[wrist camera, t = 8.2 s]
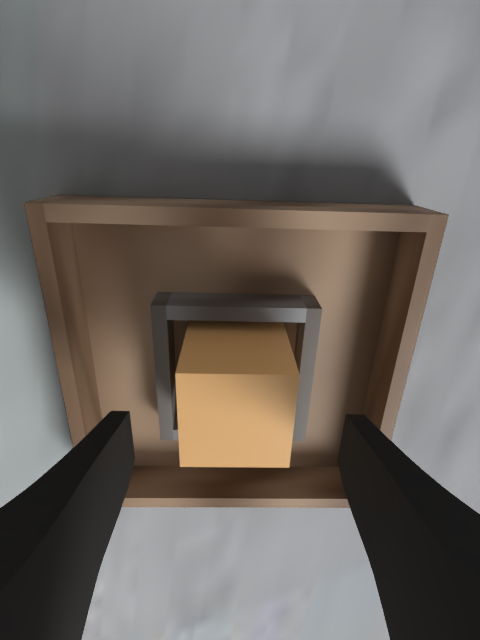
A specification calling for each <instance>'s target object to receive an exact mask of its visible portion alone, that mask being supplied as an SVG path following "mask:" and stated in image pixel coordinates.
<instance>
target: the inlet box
mask: <svg viewBox="0 0 480 640" xmlns="http://www.w3.org/2000/svg"><path fill="white" fill-rule="evenodd" d="M24 206H25V211H26V216H27V221H28V225H29V230H30V235H31V240H32V245H33V250H34V255H35V260H36V265H37V270H38V275H39V280H40V285H41V290H42V295H43V299H44V304H45V309H46V314H47V319H48V324H49V329H50V334H51V339H52V344H53V349H54V354H55V359H56V364H57V368H58V373H59V378H60V383H61V388H62V393H63V398H64V403H65V408H66V413H67V418H68V423H69V428H70V433H71V438H72V442H73V447H75V446H76V445H77V444H78V443H79V442H80V441H81V440H82V439H83V438H84V437H85V436H86V435H87V434H88V433H89V432H90V431H91V430H92V429H93V428H94V427H95V426H96V425H97V424H98V423H99V422H100V421H101V420H102V419H103V418H104V417H105V416H106V415H107V414H108V413H109V412H110V411H130V418H131V427H132V435H133V444H134V453H135V461H134V465H133V470H132V475H131V479H130V483H129V487H128V490H127V493H126V496H125V499H124V502H123V504H122V507H298V508H350V506H349V503H348V500H347V497H346V494H345V491H344V488H343V484H342V479H341V475H340V470H339V466H338V461H337V459H338V454H339V449H340V443H341V438H342V432H343V427H344V422H345V416H346V414H364V415H365V416H366V417H367V418H368V419H369V420H370V421H371V422H372V423H373V424H374V425H375V426H376V427H377V428H378V429H379V430H380V431H381V432H382V433H383V434H384V435H386V436H387V437H388V438H389V439H390V440H391V438H392V435H393V431H394V427H395V423H396V419H397V415H398V411H399V407H400V403H401V399H402V395H403V392H404V388H405V384H406V380H407V376H408V372H409V368H410V364H411V360H412V356H413V352H414V349H415V345H416V341H417V337H418V333H419V329H420V325H421V321H422V317H423V313H424V309H425V306H426V302H427V298H428V294H429V290H430V286H431V282H432V278H433V274H434V270H435V266H436V263H437V259H438V255H439V251H440V247H441V243H442V239H443V235H444V231H445V227H446V223H447V220H448V216H449V215H448V214H444V213H440V212H437V211H433V210H430V209H426V208H423V207H419V206H415V205H385V204H351V203H317V202H282V201H248V200H213V199H179V198H145V197H110V196H76V195H55V196H51V197H46V198H42V199H38V200H34V201H29V202H25V203H24ZM189 320H191V321H243V322H284V326H285V329H286V332H287V335H288V339H289V342H290V345H291V348H292V352H293V355H294V358H295V361H296V365H297V368H298V371H299V374H300V378H299V386H298V395H297V404H296V413H295V422H294V430H293V439H292V448H291V457H290V466H289V468H264V467H180V458H179V438H178V418H177V398H176V378H175V372H176V369H177V365H178V361H179V357H180V353H181V349H182V345H183V341H184V338H185V334H186V330H187V326H188V322H189Z"/></svg>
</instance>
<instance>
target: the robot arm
mask: <svg viewBox="0 0 480 640" xmlns="http://www.w3.org/2000/svg"><path fill="white" fill-rule="evenodd" d="M134 461H135V453H134V444H133V435H132V427H131V418H130V411H110V412H109V413H108V414H107V415H106V416H105V417H104V418H103V419H102V420H101V421H100V422H99V423H98V424H97V425H96V426H95V427H94V428H93V429H92V430H91V431H90V432H89V433H88V434H87V435H86V436H85V437H84V438H83V439H82V440H81V441H80V442H79V443H78V444H77V445H76V446H75V447H74V448H73V449H72V450H71V451H70V452H69V453H67V454H66V455H65V456H64V457H63V458H62V459H61V460H60V461H59V462H58V463H56V464H55V465H54V466H53V467H52V468H51V469H50V470H48V471H47V472H46V473H45V474H44V475H43V476H42V477H40V478H39V479H38V480H37V481H36V482H34V483H33V484H32V485H31V486H29V487H28V488H27V489H26V490H24V491H23V492H22V493H20V494H19V495H18V496H16V497H15V498H14V499H12V500H11V501H10V502H8V503H7V504H5V505H4V506H3V507H1V508H0V640H81V639H82V634H83V630H84V626H85V622H86V618H87V614H88V610H89V606H90V603H91V599H92V595H93V591H94V587H95V584H96V580H97V576H98V573H99V569H100V566H101V563H102V560H103V557H104V554H105V551H106V549H107V546H108V543H109V540H110V538H111V535H112V532H113V529H114V527H115V524H116V521H117V518H118V516H119V513H120V510H121V507H122V504H123V502H124V499H125V496H126V493H127V490H128V487H129V483H130V479H131V475H132V470H133V465H134ZM337 461H338V466H339V470H340V475H341V479H342V484H343V488H344V491H345V494H346V497H347V500H348V503H349V506H350V508H351V511H352V514H353V517H354V520H355V522H356V525H357V528H358V531H359V533H360V536H361V539H362V542H363V544H364V547H365V550H366V553H367V555H368V558H369V561H370V564H371V568H372V571H373V574H374V577H375V581H376V585H377V589H378V593H379V596H380V600H381V604H382V608H383V612H384V616H385V620H386V624H387V628H388V632H389V636H390V640H480V514H479V513H477V512H476V511H474V510H473V509H471V508H470V507H469V506H467V505H466V504H465V503H463V502H462V501H461V500H459V499H458V498H457V497H455V496H454V495H453V494H451V493H450V492H449V491H447V490H446V489H445V488H444V487H442V486H441V485H440V484H439V483H437V482H436V481H435V480H434V479H433V478H431V477H430V476H429V475H428V474H427V473H426V472H424V471H423V470H422V469H421V468H420V467H419V466H417V465H416V464H415V463H414V462H413V461H412V460H411V459H410V458H409V457H407V456H406V455H405V454H404V453H403V452H402V451H401V450H400V449H399V448H398V447H397V446H396V445H395V444H394V443H393V442H392V441H391V440H390V439H389V438H388V437H387V436H386V435H384V434H383V433H382V432H381V431H380V430H379V429H378V428H377V427H376V426H375V425H374V424H373V423H372V422H371V421H370V420H369V419H368V418H367V417H366V416H365V415H364V414H346V416H345V422H344V427H343V432H342V438H341V443H340V449H339V454H338V459H337Z"/></svg>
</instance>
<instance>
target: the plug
mask: <svg viewBox="0 0 480 640" xmlns="http://www.w3.org/2000/svg"><path fill="white" fill-rule="evenodd" d="M175 378H176V398H177V418H178V438H179V458H180V467H264V468H289V466H290V457H291V448H292V439H293V430H294V422H295V413H296V404H297V395H298V386H299V378H300V374H299V371H298V368H297V365H296V361H295V358H294V355H293V352H292V348H291V345H290V342H289V339H288V335H287V332H286V329H285V326H284V322H243V321H191V320H189V322H188V326H187V330H186V334H185V338H184V341H183V345H182V349H181V353H180V357H179V361H178V365H177V369H176V372H175Z"/></svg>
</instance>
